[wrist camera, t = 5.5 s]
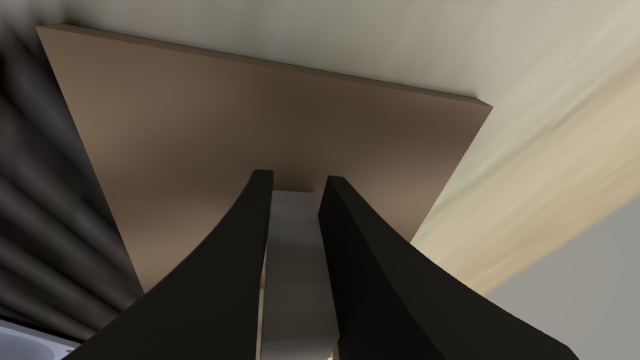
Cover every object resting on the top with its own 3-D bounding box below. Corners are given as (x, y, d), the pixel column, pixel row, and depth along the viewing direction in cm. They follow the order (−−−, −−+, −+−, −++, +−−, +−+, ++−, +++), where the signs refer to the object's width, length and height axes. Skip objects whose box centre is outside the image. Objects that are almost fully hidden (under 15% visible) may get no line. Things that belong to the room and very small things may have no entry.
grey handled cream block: (308, 327, 20) (317, 433, 15) (230, 332, 18) (212, 450, 13) (354, 195, 12) (407, 331, 7) (222, 187, 10) (172, 348, 6)
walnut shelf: (333, 353, 26) (348, 452, 21) (183, 365, 23) (150, 488, 17) (477, 98, 11) (719, 220, 5) (61, 23, 7) (-815, 119, 1)
